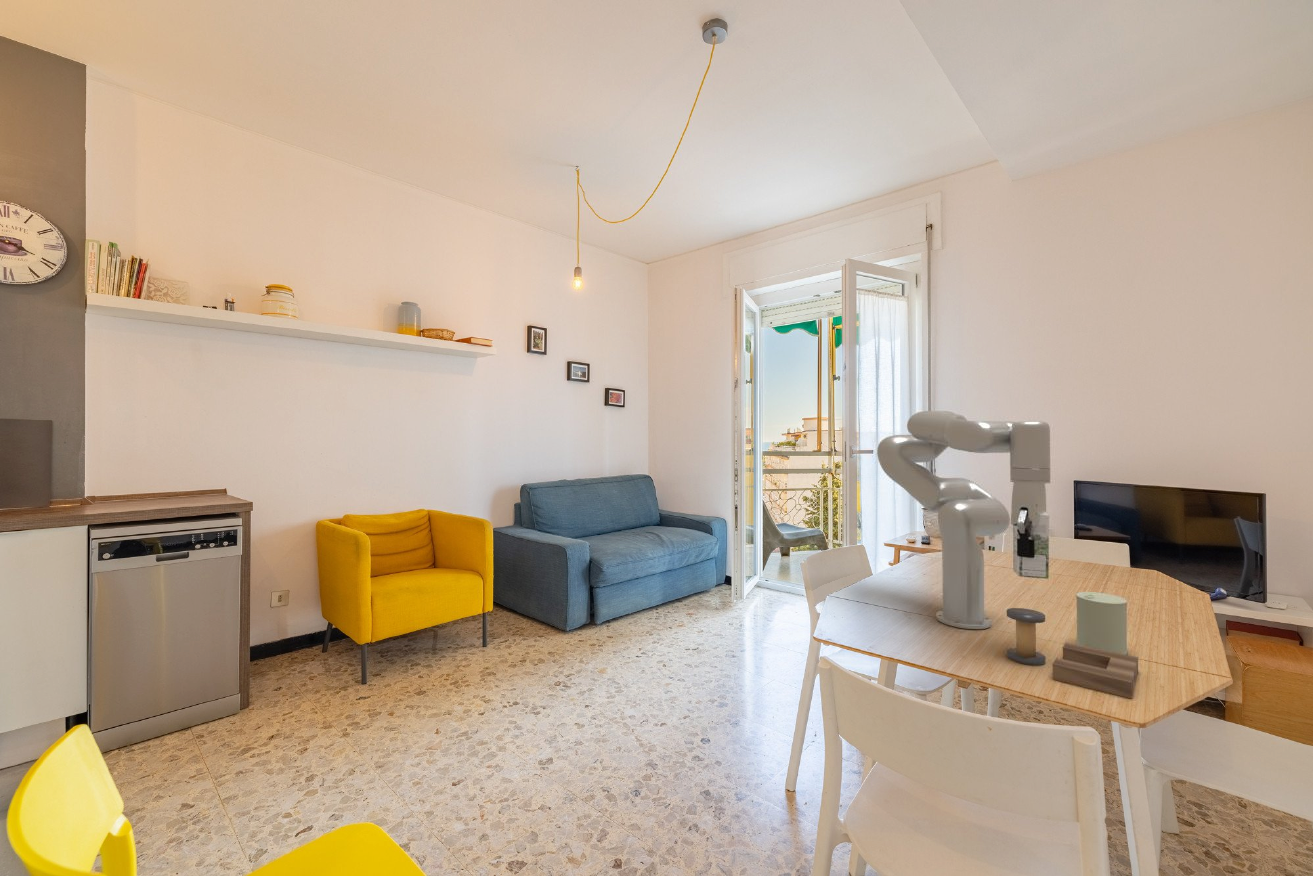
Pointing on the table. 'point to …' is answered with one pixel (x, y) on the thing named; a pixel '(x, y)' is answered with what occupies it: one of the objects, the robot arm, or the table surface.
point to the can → (1102, 621)
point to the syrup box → (1040, 562)
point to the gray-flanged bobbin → (1026, 636)
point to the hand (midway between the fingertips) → (1030, 553)
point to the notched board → (1097, 669)
